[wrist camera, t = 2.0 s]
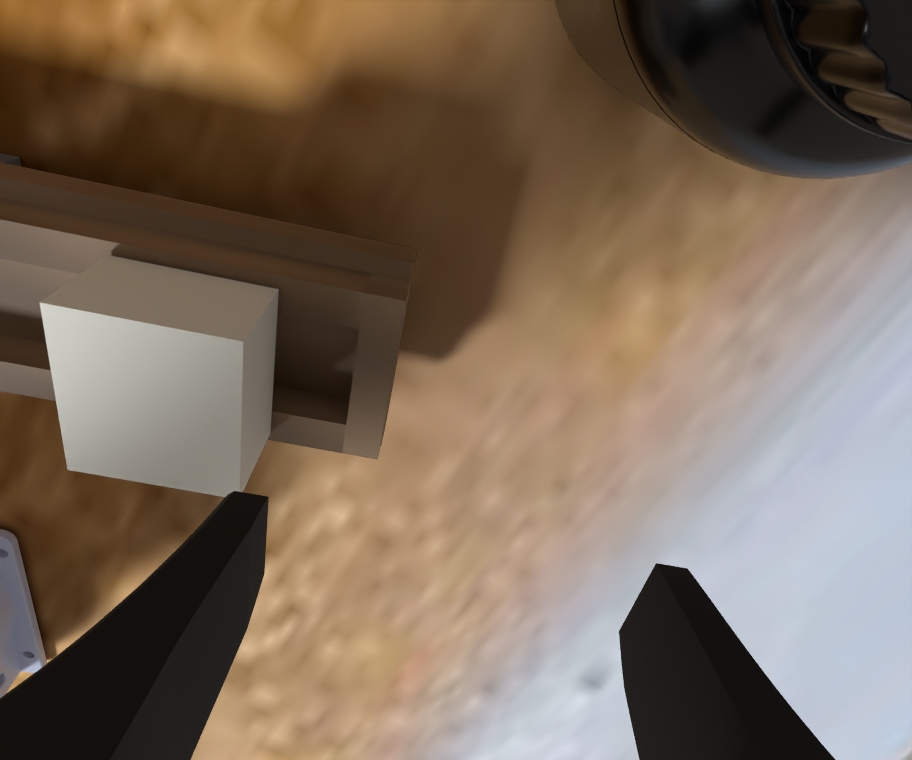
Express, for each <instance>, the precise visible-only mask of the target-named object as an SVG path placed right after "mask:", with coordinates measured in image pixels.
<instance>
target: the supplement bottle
mask: <svg viewBox="0 0 912 760" xmlns="http://www.w3.org/2000/svg"><path fill="white" fill-rule="evenodd" d="M555 3H556V7H557V10H558V14H559V16H560V19H561V21H562V24H563V27H564V29H565V31H566V33H567V35H568V37H569V39H570V41H571V42H572V44H573V45H574V47H575V49H576V50H577V52H578V53H579V55H580V56H581V57H582V58H583V60H584V61H585V62H586V63H587V65H588V66H589V67H590V68H591V69H592V70H593V71H594V72H595V73H596V74H598V75H599V76H600V77H601V78H602V79H604V80H605V81H606V82H607V83H609V84H610V85H611V86H612V87H614V88H615V89H617V90H618V91H620V92H621V93H623V94H624V95H626V96H627V97H629V98H630V99H632V100H633V101H635V102H637V103H638V104H640V105H641V106H643V107H644V108H646V109H647V110H649V111H650V112H652V113H653V114H655V115H656V116H658V117H659V118H661V119H662V120H664V121H666V122H667V123H669V124H670V125H672V126H673V127H675V128H676V129H678V130H679V131H681V132H682V133H684V134H685V135H687V136H688V137H690V138H692V139H693V140H695V141H696V142H698V143H699V144H701V145H703V146H704V147H706V148H707V149H709V150H711V151H713V152H715V153H717V154H719V155H721V156H723V157H725V158H727V159H729V160H732V161H734V162H736V163H739V164H741V165H744V166H747V167H750V168H753V169H756V170H758V171H762V172H766V173H771V174H775V175H780V176H787V177H795V178H815V179H832V178H843V177H854V176H860V175H865V174H871V173H876V172H881V171H884V170H888V169H892V168H896V167H899V166H903V165H907V164H909V163H912V0H555Z"/></svg>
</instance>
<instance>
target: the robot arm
mask: <svg viewBox="0 0 912 760" xmlns="http://www.w3.org/2000/svg"><path fill="white" fill-rule="evenodd" d="M267 515H268V497H267V496H261V495H255V494H249V493H244V492H238V491H233V492H231V493H229V494H228V495H227V496H226V497H225V498H224V499H223V500H222V502H221V503H220V504H219V505H218V506H217V507H216V509H215V510H214V511H213V512H212V513H211V514H210V515H209V516H208V517H207V519H206V520H205V521H204V522H203V523H202V524H201V525H200V526H199V527H198V528H197V529H196V530H195V531H194V533H193V534H192V535H191V536H190V537H189V538H188V539H187V540H186V541H185V542H184V543H183V544H182V545H181V546H180V547H179V548H178V549H177V550H176V551H175V552H174V553H173V554H172V555H171V556H170V557H169V558H168V559H167V560H166V561H165V562H164V563H163V564H162V565H161V566H160V567H159V568H158V569H156V570H155V571H154V572H153V573H152V574H151V575H150V576H149V577H148V578H147V579H146V580H145V581H144V582H143V583H142V584H141V585H140V586H139V587H138V588H137V589H135V590H134V591H133V592H132V593H131V594H130V595H129V596H127V597H126V598H125V599H124V600H123V601H122V602H121V603H120V604H118V605H117V606H116V607H115V608H114V609H113V610H112V611H110V612H109V613H108V614H107V615H106V616H105V617H104V618H103V619H101V620H100V621H99V622H98V623H97V624H96V625H94V626H93V627H92V628H91V629H90V630H88V631H87V632H86V633H85V634H84V635H82V636H81V637H80V638H79V639H78V640H76V641H75V642H74V643H73V644H71V645H70V646H69V647H68V648H66V649H65V650H64V651H63V652H61V653H60V654H59V655H58V656H56V657H55V658H54V659H52V660H51V661H50V662H48V663H47V660H46V656H45V652H44V648H43V644H42V640H41V635H40V631H39V627H38V623H37V619H36V615H35V611H34V607H33V602H32V598H31V594H30V590H29V586H28V582H27V578H26V573H25V569H24V565H23V561H22V557H21V553H20V549H19V545H18V540H17V538H16V536H15V535H14V534H13V533H11V532H9V531H6V530H2V529H0V760H191V757H192V755H193V752H194V750H195V748H196V745H197V743H198V741H199V739H200V736H201V734H202V732H203V729H204V727H205V725H206V722H207V720H208V718H209V716H210V713H211V711H212V709H213V706H214V704H215V702H216V699H217V697H218V695H219V693H220V690H221V688H222V686H223V683H224V681H225V679H226V677H227V674H228V672H229V670H230V667H231V665H232V663H233V660H234V658H235V656H236V653H237V651H238V649H239V646H240V644H241V642H242V639H243V637H244V635H245V632H246V630H247V627H248V624H249V621H250V618H251V615H252V612H253V609H254V605H255V602H256V599H257V596H258V592H259V589H260V586H261V583H262V579H263V576H264V569H265V551H266V533H267ZM619 636H620V649H621V662H622V671H623V680H624V688H625V693H626V698H627V703H628V708H629V713H630V718H631V722H632V727H633V732H634V736H635V741H636V746H637V750H638V755H639V759H640V760H835V759H834V758H833V756H832V755H831V754H830V753H829V752H828V751H827V750H826V748H825V747H824V746H823V745H822V744H821V743H820V741H819V740H818V739H817V738H816V737H815V735H814V734H813V733H812V732H811V731H810V729H809V728H808V727H807V726H806V725H805V723H804V722H803V721H802V720H801V719H800V717H799V716H798V715H797V714H796V712H795V711H794V710H793V709H792V708H791V706H790V705H789V704H788V703H787V701H786V700H785V699H784V698H783V696H782V695H781V694H780V693H779V691H778V690H777V689H776V687H775V686H774V685H773V684H772V682H771V681H770V680H769V678H768V677H767V676H766V675H765V673H764V672H763V671H762V669H761V668H760V667H759V665H758V664H757V663H756V661H755V660H754V659H753V657H752V656H751V655H750V653H749V652H748V651H747V649H746V648H745V647H744V645H743V644H742V643H741V641H740V640H739V638H738V637H737V636H736V634H735V633H734V632H733V630H732V629H731V627H730V626H729V625H728V623H727V622H726V621H725V619H724V618H723V616H722V615H721V614H720V612H719V611H718V610H717V608H716V607H715V605H714V604H713V603H712V601H711V600H710V598H709V597H708V596H707V594H706V593H705V592H704V590H703V589H702V587H701V586H700V585H699V583H698V582H697V581H696V579H695V578H694V577H693V575H692V574H691V573H690V571H689V570H688V569H686V568H681V567H675V566H669V565H663V564H657V563H656V565H655V566H654V568H653V570H652V572H651V574H650V576H649V577H648V579H647V581H646V583H645V585H644V587H643V588H642V590H641V592H640V594H639V596H638V598H637V599H636V601H635V603H634V605H633V607H632V609H631V610H630V612H629V614H628V616H627V618H626V620H625V621H624V623H623V625H622V627H621V629H620V631H619ZM20 671H24V672H31V673H34V674H33V675H31V676H30V677H29V678H27V679H26V680H25V681H23V682H22V683H21V684H19V685H18V686H16V687H15V688H14V689H12V690H11V691H9V692H8V693H7V694H6V692H7V691H8V689H9V688H10V686H11V685H12V683H13V682H14V680H15V679H16V677H17V676H18V674H19V673H20Z"/></svg>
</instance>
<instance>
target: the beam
mask: <svg viewBox="0 0 912 760" xmlns="http://www.w3.org/2000/svg"><path fill="white" fill-rule="evenodd" d="M416 254H417V249H414V248H409V247H404V246H400V245H395V244H390V243H385V242H380V241H376V240H371V239H366V238H361V237H356V236H352V235H347V234H342V233H337V232H333V231H328V230H323V229H318V228H313V227H309V226H304V225H299V224H294V223H289V222H285V221H280V220H275V219H270V218H265V217H261V216H256V215H251V214H246V213H241V212H237V211H232V210H227V209H222V208H217V207H213V206H208V205H203V204H198V203H193V202H189V201H184V200H179V199H174V198H170V197H165V196H160V195H155V194H150V193H146V192H141V191H136V190H131V189H126V188H122V187H117V186H112V185H107V184H102V183H98V182H93V181H88V180H83V179H78V178H74V177H69V176H64V175H59V174H54V173H50V172H45V171H40V170H35V169H30V168H26V167H21V162H20V157H17V156H12V155H8V154H3V153H0V391H2V392H8V393H13V394H19V395H24V396H30V397H35V398H41V399H46V400H52V401H56V398H55V392H54V386H53V380H52V374H51V368H50V362H49V356H48V350H47V344H46V338H45V332H44V326H43V320H42V314H41V308H40V302H41V301H42V300H44V299H45V298H46V297H48V296H49V295H51V294H52V293H53V292H55V291H56V290H58V289H59V288H60V287H62V286H63V285H65V284H66V283H67V282H69V281H70V280H72V279H73V278H74V277H76V276H77V275H79V274H80V273H81V272H83V271H84V270H86V269H87V268H88V267H90V266H91V265H93V264H94V263H95V262H97V261H98V260H100V259H101V258H102V257H104V256H105V255H110V256H115V257H120V258H125V259H130V260H135V261H140V262H145V263H150V264H155V265H160V266H165V267H170V268H175V269H180V270H185V271H190V272H195V273H200V274H205V275H210V276H215V277H220V278H225V279H230V280H235V281H240V282H245V283H250V284H255V285H260V286H265V287H270V288H275V289H279V294H278V311H277V328H276V346H275V363H274V380H273V397H272V415H271V432H270V436H269V438H268V440H273V441H278V442H284V443H289V444H295V445H300V446H306V447H312V448H317V449H323V450H328V451H334V452H339V453H345V454H350V455H356V456H361V457H367V458H372V459H378V455H379V451H380V447H381V444H382V439H383V435H384V430H385V425H386V420H387V414H388V409H389V403H390V398H391V392H392V387H393V381H394V376H395V370H396V365H397V359H398V353H399V348H400V342H401V337H402V331H403V326H404V320H405V315H406V309H407V304H408V298H409V292H410V287H411V281H412V276H413V270H414V265H415V259H416Z"/></svg>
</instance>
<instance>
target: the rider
mask: <svg viewBox="0 0 912 760" xmlns="http://www.w3.org/2000/svg"><path fill="white" fill-rule="evenodd" d="M278 294H279V289H275V288H270V287H265V286H260V285H255V284H250V283H245V282H240V281H235V280H230V279H225V278H220V277H215V276H210V275H205V274H200V273H195V272H190V271H185V270H180V269H175V268H170V267H165V266H160V265H155V264H150V263H145V262H140V261H135V260H130V259H125V258H120V257H115V256H110V255H105V256H104V257H102V258H101V259H100V260H98V261H97V262H95V263H94V264H93V265H91V266H90V267H88V268H87V269H86V270H84V271H83V272H81V273H80V274H79V275H77V276H76V277H74V278H73V279H72V280H70V281H69V282H67V283H66V284H65V285H63V286H62V287H60V288H59V289H58V290H56V291H55V292H53V293H52V294H51V295H49V296H48V297H46V298H45V299H44V300H42V301H41V302H40V308H41V314H42V320H43V326H44V332H45V338H46V344H47V350H48V356H49V362H50V368H51V374H52V380H53V386H54V392H55V398H56V404H57V410H58V416H59V422H60V428H61V434H62V440H63V446H64V452H65V458H66V464H67V470H71V471H77V472H83V473H88V474H94V475H100V476H106V477H112V478H117V479H123V480H129V481H135V482H140V483H146V484H152V485H158V486H164V487H169V488H175V489H181V490H187V491H193V492H198V493H204V494H210V495H216V496H221V497H226V496H227V495H228V494H229V493H231V492H233V491H238V492H243V491H244V489H245V487H246V484H247V482H248V480H249V478H250V476H251V474H252V472H253V470H254V467H255V465H256V463H257V461H258V459H259V457H260V455H261V453H262V451H263V448H264V446H265V444H266V442H267V440H268V438H269V436H270V432H271V415H272V397H273V380H274V363H275V346H276V328H277V311H278Z"/></svg>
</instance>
